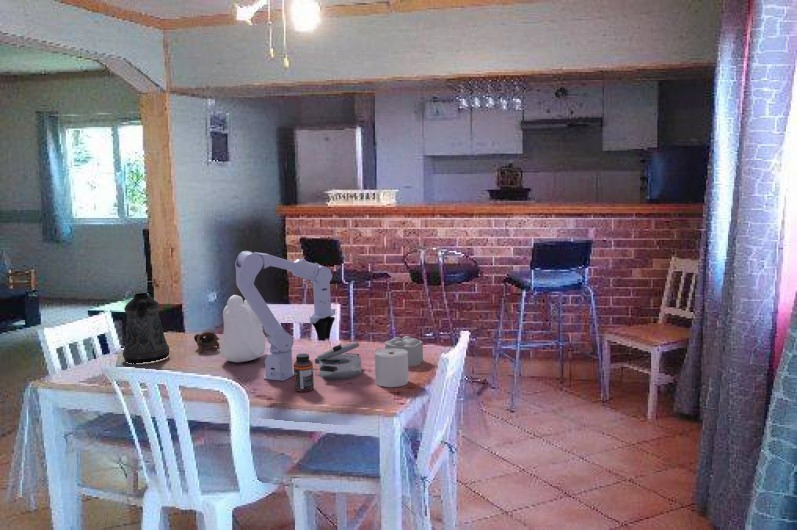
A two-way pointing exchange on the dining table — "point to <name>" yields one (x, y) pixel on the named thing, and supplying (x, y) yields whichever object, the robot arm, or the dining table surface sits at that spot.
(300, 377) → the supplement bottle
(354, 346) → the cooker lid
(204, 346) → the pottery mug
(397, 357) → the toilet tissue
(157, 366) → the dining table surface
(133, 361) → the dark grey flared piece
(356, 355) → the cooker pot
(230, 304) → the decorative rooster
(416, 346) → the grey lumpy container
